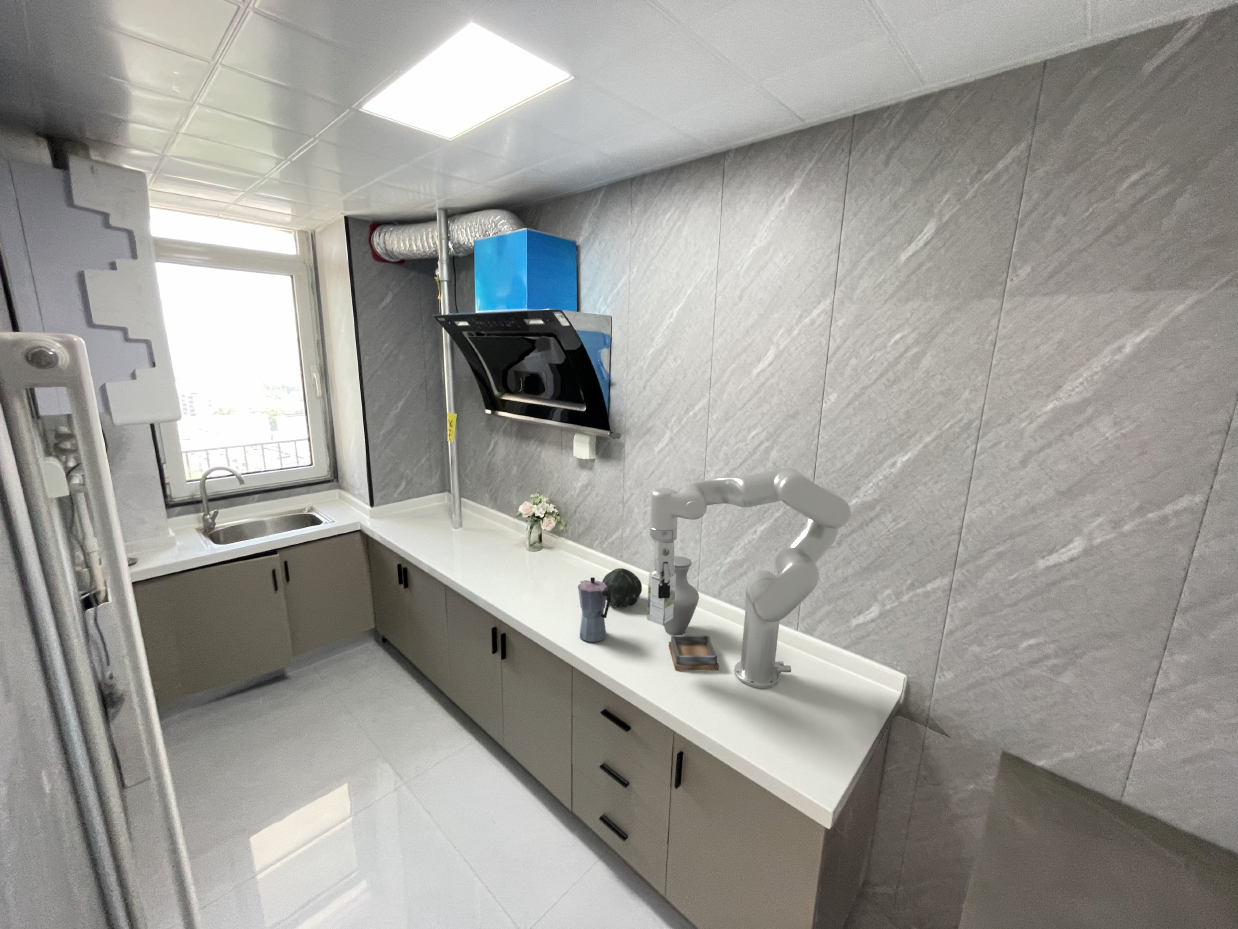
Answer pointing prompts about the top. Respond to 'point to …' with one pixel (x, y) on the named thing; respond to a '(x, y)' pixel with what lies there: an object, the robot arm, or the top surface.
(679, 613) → the vase
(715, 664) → the dock
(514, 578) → the top surface
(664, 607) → the syrup box
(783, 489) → the robot arm
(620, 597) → the squash
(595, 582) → the moka pot
